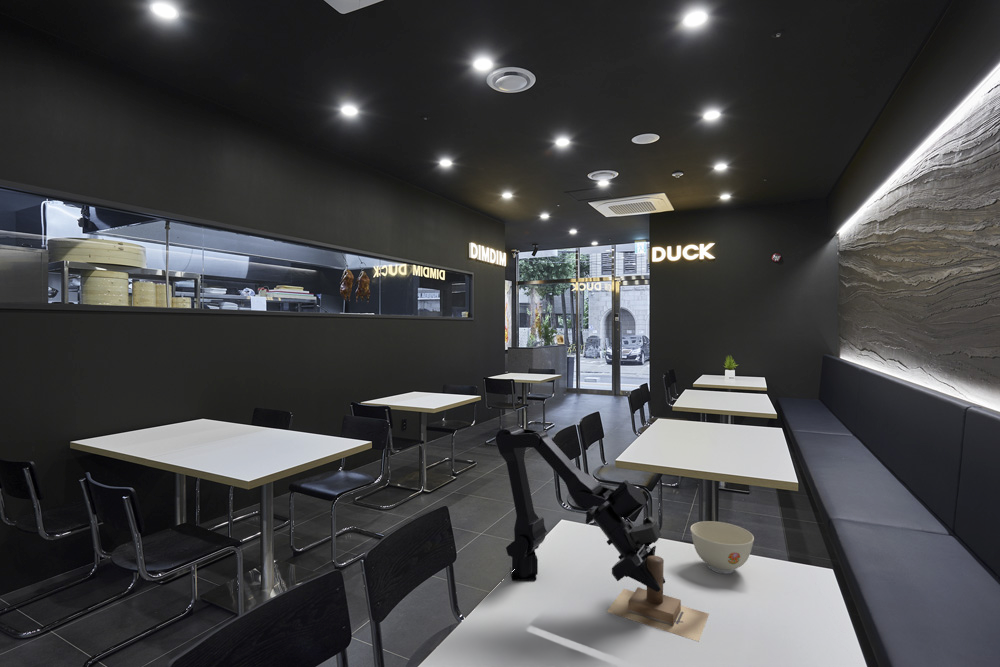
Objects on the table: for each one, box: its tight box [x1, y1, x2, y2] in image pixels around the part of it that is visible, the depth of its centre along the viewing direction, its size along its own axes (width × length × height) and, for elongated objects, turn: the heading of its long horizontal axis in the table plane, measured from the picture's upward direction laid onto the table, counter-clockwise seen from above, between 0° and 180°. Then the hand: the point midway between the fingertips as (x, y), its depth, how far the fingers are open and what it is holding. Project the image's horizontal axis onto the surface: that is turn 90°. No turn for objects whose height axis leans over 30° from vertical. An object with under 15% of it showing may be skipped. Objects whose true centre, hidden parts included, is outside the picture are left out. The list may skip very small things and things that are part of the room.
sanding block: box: [628, 555, 682, 626], centre depth 115 cm, size 10×7×12 cm
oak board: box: [606, 588, 710, 642], centre depth 114 cm, size 20×12×1 cm, turn 58°
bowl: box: [690, 520, 755, 575], centre depth 138 cm, size 16×16×10 cm
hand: (661, 587), depth 114 cm, fingers closed on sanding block, 4 cm apart
